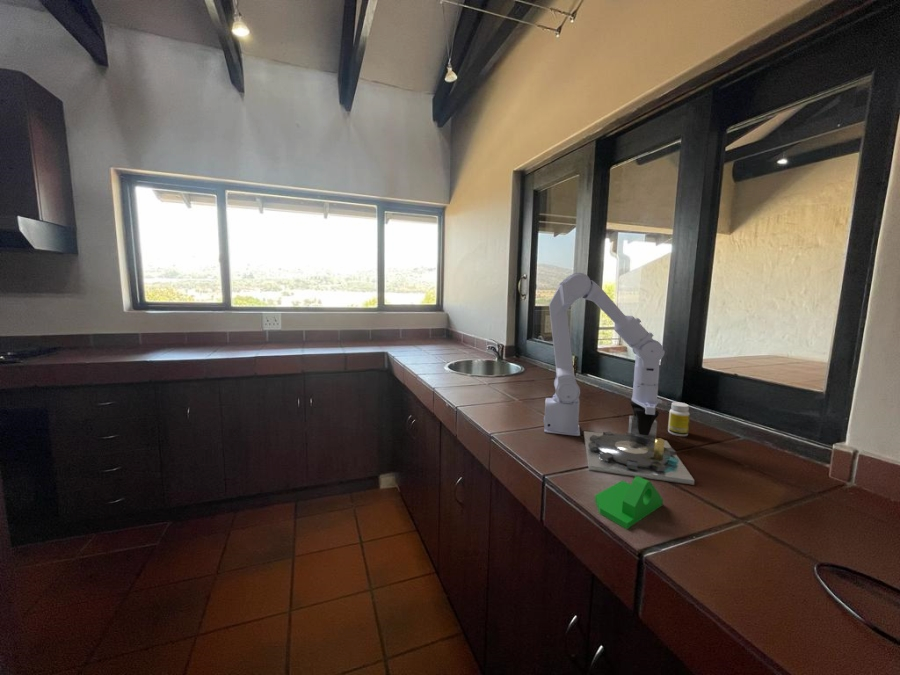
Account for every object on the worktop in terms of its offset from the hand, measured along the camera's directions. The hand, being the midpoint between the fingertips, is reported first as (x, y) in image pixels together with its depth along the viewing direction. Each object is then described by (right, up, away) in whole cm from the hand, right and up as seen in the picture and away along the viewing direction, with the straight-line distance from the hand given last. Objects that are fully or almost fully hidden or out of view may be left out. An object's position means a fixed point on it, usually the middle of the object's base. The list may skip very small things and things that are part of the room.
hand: (642, 431), depth 94 cm
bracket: (-20, -6, -30) cm, 37 cm away
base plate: (-9, -3, -11) cm, 14 cm away
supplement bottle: (+11, -1, +2) cm, 12 cm away
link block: (0, -1, 0) cm, 1 cm away
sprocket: (-9, -2, -11) cm, 14 cm away
